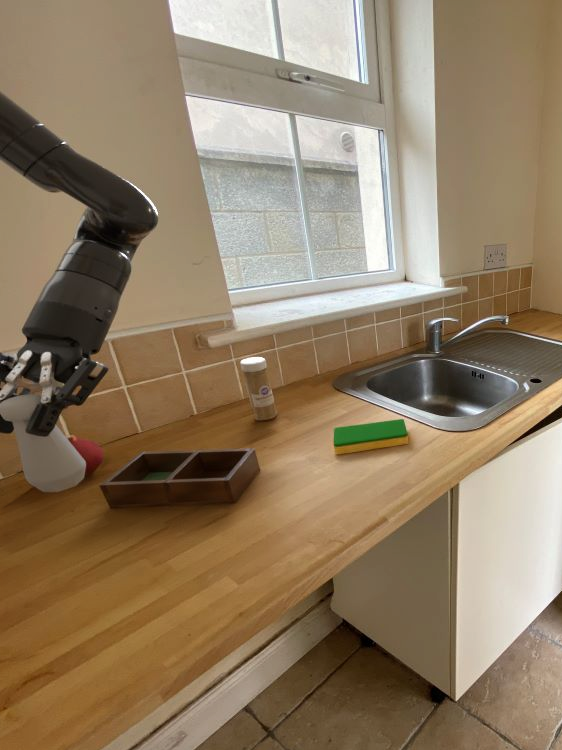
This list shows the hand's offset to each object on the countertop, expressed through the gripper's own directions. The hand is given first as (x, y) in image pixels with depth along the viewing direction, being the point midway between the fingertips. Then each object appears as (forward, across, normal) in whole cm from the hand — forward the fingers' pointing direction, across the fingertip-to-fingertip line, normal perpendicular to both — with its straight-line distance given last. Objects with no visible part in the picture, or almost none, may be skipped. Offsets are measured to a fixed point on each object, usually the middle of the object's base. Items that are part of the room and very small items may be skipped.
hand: (18, 432), depth 56 cm
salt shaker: (+5, 0, +8) cm, 9 cm away
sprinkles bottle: (-15, +3, +41) cm, 44 cm away
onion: (+2, -14, +24) cm, 28 cm away
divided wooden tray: (+3, +6, +23) cm, 24 cm away
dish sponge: (-10, +30, +36) cm, 48 cm away
